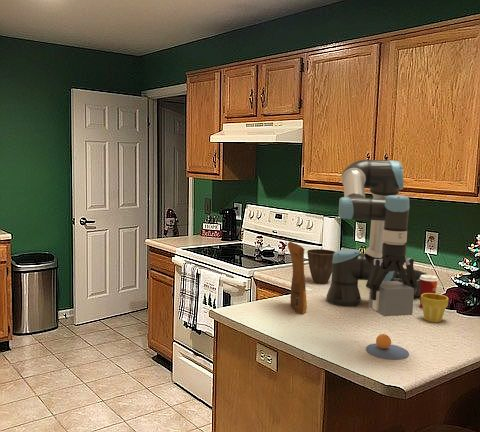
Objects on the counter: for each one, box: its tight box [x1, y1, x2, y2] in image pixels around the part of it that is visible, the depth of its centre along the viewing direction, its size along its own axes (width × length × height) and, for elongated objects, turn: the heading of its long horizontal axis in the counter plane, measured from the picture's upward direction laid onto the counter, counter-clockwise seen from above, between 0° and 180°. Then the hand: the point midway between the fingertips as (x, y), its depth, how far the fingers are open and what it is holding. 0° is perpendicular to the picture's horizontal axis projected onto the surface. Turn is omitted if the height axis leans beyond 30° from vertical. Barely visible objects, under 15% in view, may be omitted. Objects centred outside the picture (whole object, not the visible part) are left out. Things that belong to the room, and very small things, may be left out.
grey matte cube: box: [368, 281, 415, 317], centre depth 173 cm, size 10×10×9 cm
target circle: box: [365, 343, 410, 361], centre depth 175 cm, size 14×14×1 cm
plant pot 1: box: [307, 248, 336, 285], centre depth 267 cm, size 15×15×16 cm
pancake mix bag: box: [287, 241, 308, 315], centre depth 219 cm, size 7×19×28 cm, turn 6°
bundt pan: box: [390, 267, 430, 298], centre depth 251 cm, size 26×26×10 cm
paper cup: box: [419, 274, 439, 309], centre depth 228 cm, size 8×8×14 cm
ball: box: [375, 333, 392, 349], centre depth 177 cm, size 5×5×5 cm
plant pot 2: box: [421, 293, 449, 323], centre depth 211 cm, size 10×10×10 cm
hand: (390, 308), depth 173 cm, fingers closed on grey matte cube, 10 cm apart
